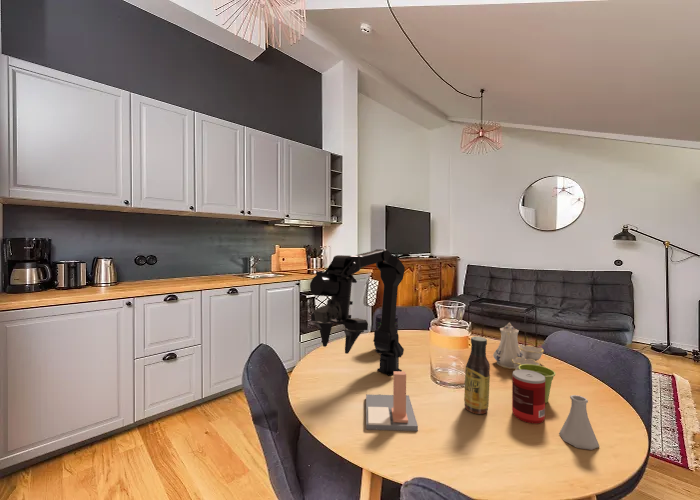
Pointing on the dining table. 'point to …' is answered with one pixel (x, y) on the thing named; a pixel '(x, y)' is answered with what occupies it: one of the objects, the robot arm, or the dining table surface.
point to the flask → (579, 426)
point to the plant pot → (544, 371)
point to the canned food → (528, 396)
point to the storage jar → (378, 322)
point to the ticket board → (387, 414)
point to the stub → (399, 397)
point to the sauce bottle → (477, 378)
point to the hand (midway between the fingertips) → (335, 349)
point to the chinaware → (515, 350)
